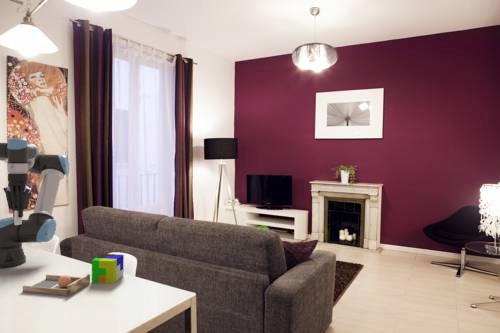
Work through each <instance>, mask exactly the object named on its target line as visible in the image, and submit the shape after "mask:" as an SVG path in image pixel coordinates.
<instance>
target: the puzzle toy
mask: <svg viewBox="0 0 500 333" xmlns="http://www.w3.org/2000/svg"><path fill="white" fill-rule="evenodd" d="M124 256H125V255H124V254H116V253H114V254H113V253H112V254H111V253H102V254H100V255H99V256H97V257H95V258H93V259H92V260H91V283H101V284H103V283H104V284H114V283H116V282H117V281H118V280H120V279H121V278H122V277H123V276H124ZM115 281H116V282H115Z"/></svg>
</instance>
